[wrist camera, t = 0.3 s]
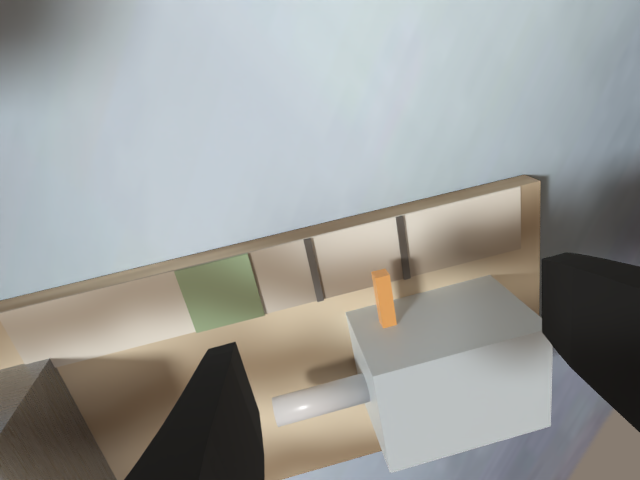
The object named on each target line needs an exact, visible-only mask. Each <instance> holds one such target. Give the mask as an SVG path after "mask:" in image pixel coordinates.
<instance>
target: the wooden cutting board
mask: <svg viewBox="0 0 640 480" xmlns="http://www.w3.org/2000/svg"><path fill="white" fill-rule="evenodd" d="M540 186H541V181H539V180H537V179H534V178H532V177H529V176H526V175H521V176H517V177H513V178H508V179H504V180H500V181H496V182H492V183H488V184H483V185H479V186H475V187H471V188H467V189H463V190H459V191H454V192H450V193H446V194H442V195H438V196H434V197H429V198H425V199H421V200H417V201H413V202H409V203H405V204H400V205H396V206H392V207H388V208H384V209H380V210H375V211H371V212H367V213H363V214H359V215H355V216H350V217H346V218H342V219H338V220H334V221H330V222H326V223H321V224H317V225H313V226H309V227H305V228H301V229H296V230H292V231H288V232H284V233H280V234H276V235H272V236H267V237H263V238H259V239H255V240H251V241H247V242H242V243H238V244H234V245H230V246H226V247H222V248H218V249H213V250H209V251H205V252H201V253H197V254H193V255H188V256H184V257H180V258H176V259H172V260H168V261H164V262H159V263H155V264H151V265H147V266H143V267H139V268H134V269H130V270H126V271H122V272H118V273H114V274H110V275H105V276H101V277H97V278H93V279H89V280H85V281H80V282H76V283H72V284H68V285H64V286H60V287H56V288H51V289H47V290H43V291H39V292H35V293H31V294H26V295H22V296H18V297H14V298H10V299H6V300H1V301H0V370H1V369H5V368H9V367H13V366H17V365H20V364H24V363H25V364H29V363H33V362H37V361H41V360H45V359H49V358H50V360H51V362H52V363H53V365H54V367H55V368H57V369H58V371H59V373H60V375H61V377H62V379H63V381H64V382H65V384H66V386H67V388H68V390H69V392H70V394H71V396H72V397H73V399H74V401H75V403H76V405H77V407H78V409H79V410H80V412H81V414H82V416H83V418H84V420H85V422H86V423H87V425H88V427H89V429H90V431H91V433H92V435H93V436H94V438H95V440H96V442H97V444H98V446H99V448H100V450H101V451H102V453H103V455H104V457H105V459H106V461H107V463H108V464H109V466H110V468H111V470H112V472H113V474H114V476H115V477H116V479H117V480H124V479H125V477H126V476H127V475H128V474H129V472H130V471H131V470H132V468H133V467H134V465H135V464H136V463H137V461H138V460H139V458H140V457H141V455H142V454H143V453H144V451H145V450H146V448H147V447H148V445H149V444H150V442H151V441H152V439H153V438H154V437H155V435H156V434H157V432H158V431H159V429H160V428H161V426H162V425H163V423H164V421H165V420H166V418H167V417H168V415H169V413H170V412H171V410H172V409H173V407H174V405H175V404H176V402H177V400H178V399H179V397H180V396H181V394H182V392H183V391H184V389H185V387H186V385H187V384H188V382H189V380H190V379H191V377H192V375H193V373H194V372H195V370H196V368H197V367H198V365H199V363H200V361H201V360H202V358H203V356H204V355H205V353H206V352H207V350H208V349H210V348H214V347H217V346H221V345H225V344H228V343H232V342H236V344H237V347H238V350H239V353H240V356H241V359H242V362H243V365H244V368H245V371H246V374H247V377H248V380H249V383H250V386H251V389H252V392H253V395H254V398H255V401H256V403H257V406H258V409H259V413H260V421H261V429H262V438H263V447H264V466H265V480H282V479H285V478H289V477H292V476H296V475H299V474H303V473H306V472H309V471H313V470H316V469H320V468H323V467H327V466H330V465H334V464H337V463H341V462H344V461H348V460H351V459H355V458H358V457H362V456H365V455H369V454H372V453H376V452H379V451H382V450H381V447H380V444H379V441H378V439H377V436H376V433H375V430H374V428H373V425H372V422H371V420H370V417H369V414H368V411H367V409H366V406H365V403H364V404H360V405H356V406H353V407H349V408H345V409H342V410H338V411H335V412H331V413H327V414H324V415H320V416H317V417H313V418H309V419H306V420H302V421H299V422H295V423H291V424H288V425H284V426H281V427H278V426H277V423H276V420H275V416H274V411H273V405H272V397H276V396H280V395H283V394H287V393H291V392H295V391H298V390H302V389H306V388H309V387H313V386H317V385H320V384H324V383H328V382H331V381H335V380H339V379H342V378H346V377H350V376H353V375H357V369H356V363H355V358H354V353H353V348H352V343H351V338H350V333H349V328H348V323H347V318H346V313H345V312H348V311H352V310H356V309H360V308H364V307H367V306H371V305H375V304H376V299H375V293H374V287H373V280H372V274H371V272H373V271H377V270H381V269H386V270H387V272H388V273H389V274H390V280H391V287H392V294H393V300H394V299H398V298H402V297H406V296H410V295H414V294H418V293H422V292H425V291H429V290H433V289H437V288H441V287H445V286H449V285H452V284H456V283H460V282H464V281H468V280H472V279H476V278H479V277H483V276H487V275H491V276H492V277H493V278H494V279H496V280H497V281H498V282H499V283H500V284H502V285H503V286H504V287H505V288H506V289H508V290H509V291H510V292H511V293H512V294H514V295H515V296H516V297H517V298H518V299H520V300H521V301H522V302H523V303H524V304H526V305H527V306H528V307H529V308H530V309H532V310H533V311H534V312H535V313H536V314H538V315H539V281H540Z"/></svg>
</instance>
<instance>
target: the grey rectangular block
mask: <svg viewBox="0 0 640 480" xmlns="http://www.w3.org/2000/svg"><path fill="white" fill-rule="evenodd" d="M0 480H117V479H116V477H115V476H114V474H113V472H112V470H111V468H110V466H109V464H108V463H107V461H106V459H105V457H104V455H103V453H102V451H101V450H100V448H99V446H98V444H97V442H96V440H95V438H94V436H93V435H92V433H91V431H90V429H89V427H88V425H87V423H86V422H85V420H84V418H83V416H82V414H81V412H80V410H79V409H78V407H77V405H76V403H75V401H74V399H73V397H72V396H71V394H70V392H69V390H68V388H67V386H66V384H65V382H64V381H63V379H62V377H61V375H60V373H59V371H58V369H57V368H55V367H54V365H53V363H52V362H51V360H50V358H49V359H45V360H41V361H37V362H33V363H29V364H25V363H24V364H20V365H17V366H13V367H9V368H5V369H1V370H0Z"/></svg>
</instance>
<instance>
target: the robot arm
mask: <svg viewBox="0 0 640 480" xmlns="http://www.w3.org/2000/svg"><path fill="white" fill-rule="evenodd" d="M542 333H543V334H544V335H545V337H546V338H547V339H548V340H549V342H550V343H551V344H552V346H553V347H554V348H555V349H556V351H557V352H558V353H559V354H560V355H561V357H562V358H563V359H564V360H565V361H566V362H567V364H568V365H569V366H570V367H571V368H572V369H573V370H574V371H575V372H576V373H577V374H578V375H579V376H580V377H581V378H582V379H583V380H584V381H585V382H586V383H587V384H589V385H590V386H591V387H592V388H593V389H594V390H595V391H596V392H597V393H598V394H599V395H600V396H601V397H602V398H603V399H604V400H606V401H607V402H608V403H609V404H610V405H611V406H612V407H613V408H614V409H615V410H616V411H617V412H618V413H620V414H621V415H622V416H623V417H624V418H625V419H626V420H627V421H628V422H629V423H630V424H632V426H633V427H635V428H636V429H637V430H638V431H639V432H640V267H639V266H634V265H630V264H625V263H621V262H616V261H612V260H607V259H602V258H597V257H592V256H587V255H581V254H574V253H563V254H559V255H555V256H552V257H548V258H544V259H542ZM124 480H265V466H264V447H263V438H262V429H261V421H260V413H259V409H258V406H257V403H256V401H255V398H254V395H253V392H252V389H251V386H250V383H249V380H248V377H247V374H246V371H245V368H244V365H243V362H242V359H241V356H240V353H239V350H238V347H237V344H236V342H232V343H228V344H225V345H221V346H217V347H214V348H210V349H208V350H207V352H206V353H205V355H204V356H203V358H202V360H201V361H200V363H199V365H198V367H197V368H196V370H195V372H194V373H193V375H192V377H191V379H190V380H189V382H188V384H187V385H186V387H185V389H184V391H183V392H182V394H181V396H180V397H179V399H178V400H177V402H176V404H175V405H174V407H173V409H172V410H171V412H170V413H169V415H168V417H167V418H166V420H165V421H164V423H163V425H162V426H161V428H160V429H159V431H158V432H157V434H156V435H155V437H154V438H153V439H152V441H151V442H150V444H149V445H148V447H147V448H146V450H145V451H144V453H143V454H142V455H141V457H140V458H139V460H138V461H137V463H136V464H135V465H134V467H133V468H132V470H131V471H130V472H129V474H128V475H127V476H126V477H125V479H124Z"/></svg>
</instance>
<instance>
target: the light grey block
mask: <svg viewBox="0 0 640 480" xmlns="http://www.w3.org/2000/svg"><path fill="white" fill-rule="evenodd" d="M371 274H372V280H373V287H374V293H375V299H376V304H375V305H371V306H367V307H364V308H360V309H356V310H352V311H348V312H345V313H346V318H347V323H348V328H349V333H350V338H351V343H352V348H353V353H354V358H355V363H356V369H357V375H353V376H350V377H346V378H342V379H339V380H335V381H331V382H328V383H324V384H320V385H317V386H313V387H309V388H306V389H302V390H298V391H295V392H291V393H287V394H283V395H280V396H276V397H272V405H273V411H274V416H275V420H276V423H277V426H278V427H281V426H284V425H288V424H291V423H295V422H299V421H302V420H306V419H309V418H313V417H317V416H320V415H324V414H327V413H331V412H335V411H338V410H342V409H345V408H349V407H353V406H356V405H360V404H364V403H365V406H366V409H367V411H368V414H369V417H370V420H371V422H372V425H373V428H374V430H375V433H376V436H377V439H378V441H379V444H380V447H381V450H382V452H383V455H384V458H385V461H386V463H387V466H388V469H389V471H390V473H392V472H396V471H399V470H403V469H406V468H410V467H413V466H416V465H420V464H423V463H427V462H430V461H434V460H437V459H440V458H444V457H447V456H451V455H454V454H457V453H461V452H464V451H468V450H471V449H475V448H478V447H481V446H485V445H488V444H492V443H495V442H499V441H502V440H505V439H509V438H512V437H516V436H519V435H522V434H526V433H529V432H533V431H536V430H540V429H543V428H546V427H550V426H551V392H552V354H553V346H552V344H551V343H550V342H549V340H548V339H547V338H546V337H545V335H544V334H543V333H542V318H541V317H540V316H539V315H538V314H536V313H535V312H534V311H533V310H532V309H530V308H529V307H528V306H527V305H526V304H524V303H523V302H522V301H521V300H520V299H518V298H517V297H516V296H515V295H514V294H512V293H511V292H510V291H509V290H508V289H506V288H505V287H504V286H503V285H502V284H500V283H499V282H498V281H497V280H496V279H494V278H493V277H492V276H491V275H487V276H483V277H479V278H476V279H472V280H468V281H464V282H460V283H456V284H452V285H449V286H445V287H441V288H437V289H433V290H429V291H425V292H422V293H418V294H414V295H410V296H406V297H402V298H398V299H394V300H393V294H392V287H391V280H390V274H389V273H388V272H387V270H386V269H381V270H377V271H373V272H371Z"/></svg>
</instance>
